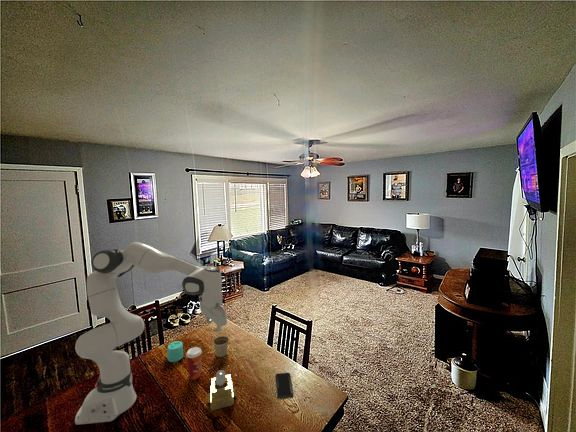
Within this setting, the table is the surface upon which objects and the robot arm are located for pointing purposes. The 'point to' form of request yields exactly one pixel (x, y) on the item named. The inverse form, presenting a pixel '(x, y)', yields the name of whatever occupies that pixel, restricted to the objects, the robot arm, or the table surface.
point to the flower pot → (221, 345)
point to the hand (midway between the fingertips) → (213, 327)
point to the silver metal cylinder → (220, 379)
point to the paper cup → (194, 362)
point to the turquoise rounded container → (175, 351)
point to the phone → (283, 385)
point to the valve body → (221, 394)
